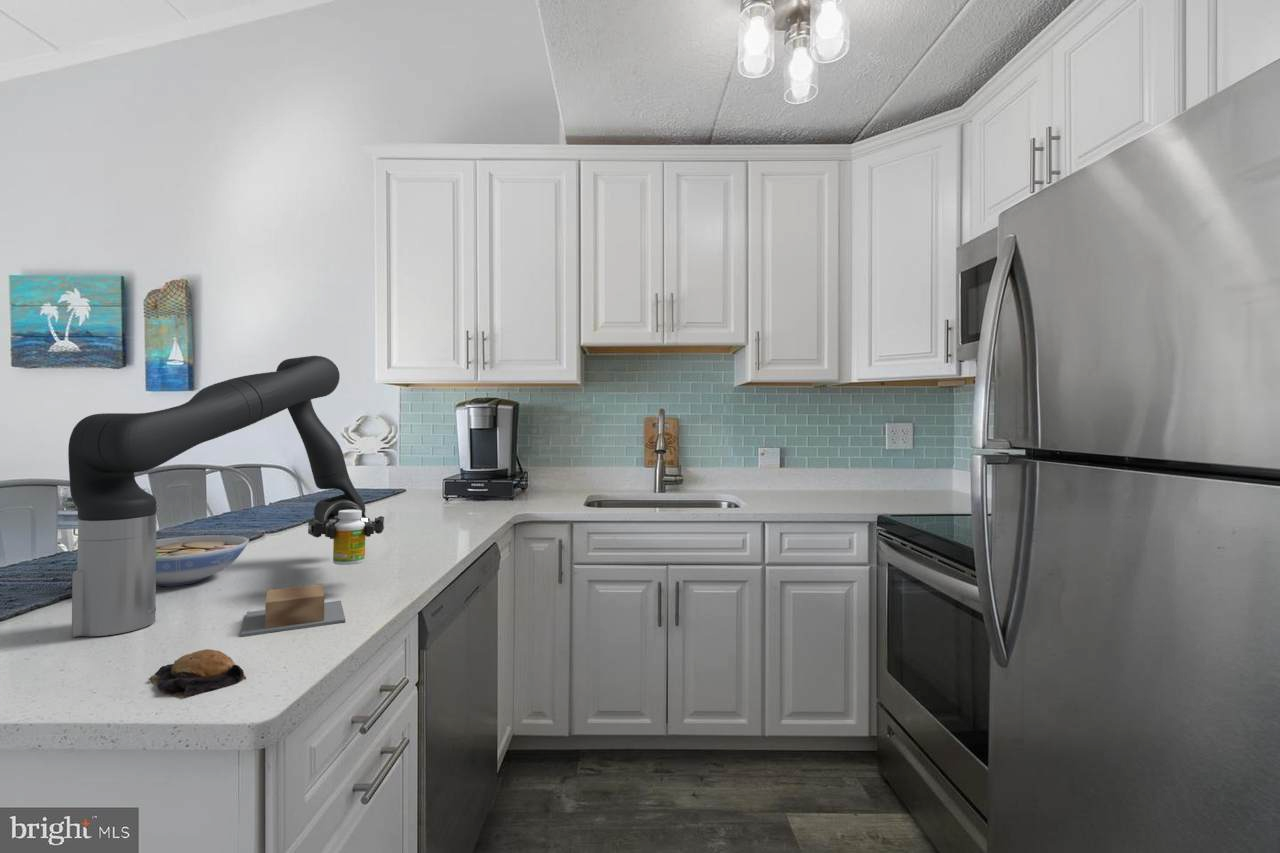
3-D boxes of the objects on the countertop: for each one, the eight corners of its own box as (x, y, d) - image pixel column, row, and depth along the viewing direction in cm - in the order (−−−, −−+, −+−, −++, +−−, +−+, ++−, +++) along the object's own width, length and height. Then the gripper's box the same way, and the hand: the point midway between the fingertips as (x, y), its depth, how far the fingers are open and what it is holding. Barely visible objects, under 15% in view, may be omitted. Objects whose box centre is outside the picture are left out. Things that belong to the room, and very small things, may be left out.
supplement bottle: (351, 566, 109) (353, 513, 109) (326, 564, 110) (327, 511, 110) (370, 560, 114) (372, 509, 115) (346, 558, 116) (347, 508, 116)
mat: (241, 636, 89) (241, 633, 89) (246, 614, 100) (247, 612, 100) (345, 622, 96) (345, 619, 96) (340, 602, 107) (340, 600, 107)
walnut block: (265, 628, 92) (265, 602, 92) (267, 614, 98) (267, 590, 98) (324, 620, 96) (324, 595, 96) (322, 607, 102) (322, 584, 102)
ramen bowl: (251, 587, 116) (251, 545, 116) (93, 606, 103) (93, 559, 103) (247, 562, 137) (247, 527, 137) (115, 576, 124) (115, 537, 124)
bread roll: (144, 683, 74) (144, 654, 74) (222, 662, 81) (222, 635, 81) (172, 708, 68) (172, 675, 68) (255, 682, 75) (255, 653, 75)
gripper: (305, 503, 121) (306, 513, 107) (382, 500, 128) (393, 509, 114) (304, 540, 121) (305, 555, 107) (381, 535, 128) (392, 549, 114)
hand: (350, 532), depth 110 cm, fingers closed on supplement bottle, 5 cm apart
